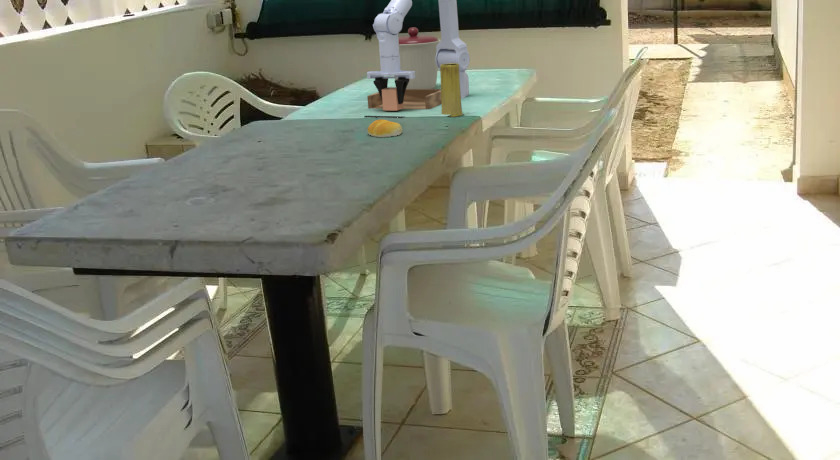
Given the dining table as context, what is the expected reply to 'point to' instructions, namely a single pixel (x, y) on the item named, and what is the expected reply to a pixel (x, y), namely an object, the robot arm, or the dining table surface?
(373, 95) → the crate
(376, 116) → the mat
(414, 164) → the dining table surface
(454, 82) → the vase
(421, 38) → the canister
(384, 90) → the block
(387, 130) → the bread roll
